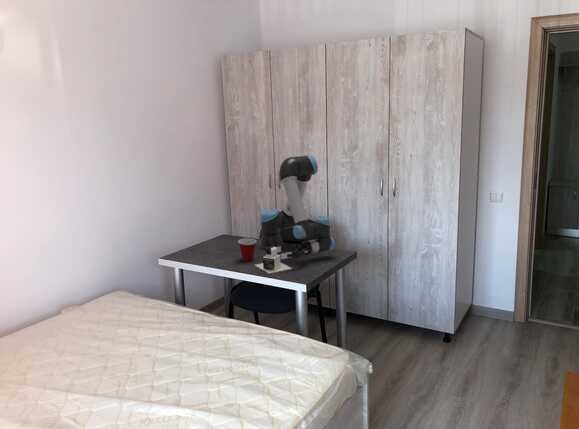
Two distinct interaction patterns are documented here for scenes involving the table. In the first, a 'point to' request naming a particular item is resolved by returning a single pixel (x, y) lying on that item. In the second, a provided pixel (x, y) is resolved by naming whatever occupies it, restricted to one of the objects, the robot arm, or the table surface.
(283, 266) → the paper
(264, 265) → the white blocky tower
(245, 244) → the plastic cup
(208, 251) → the table surface
